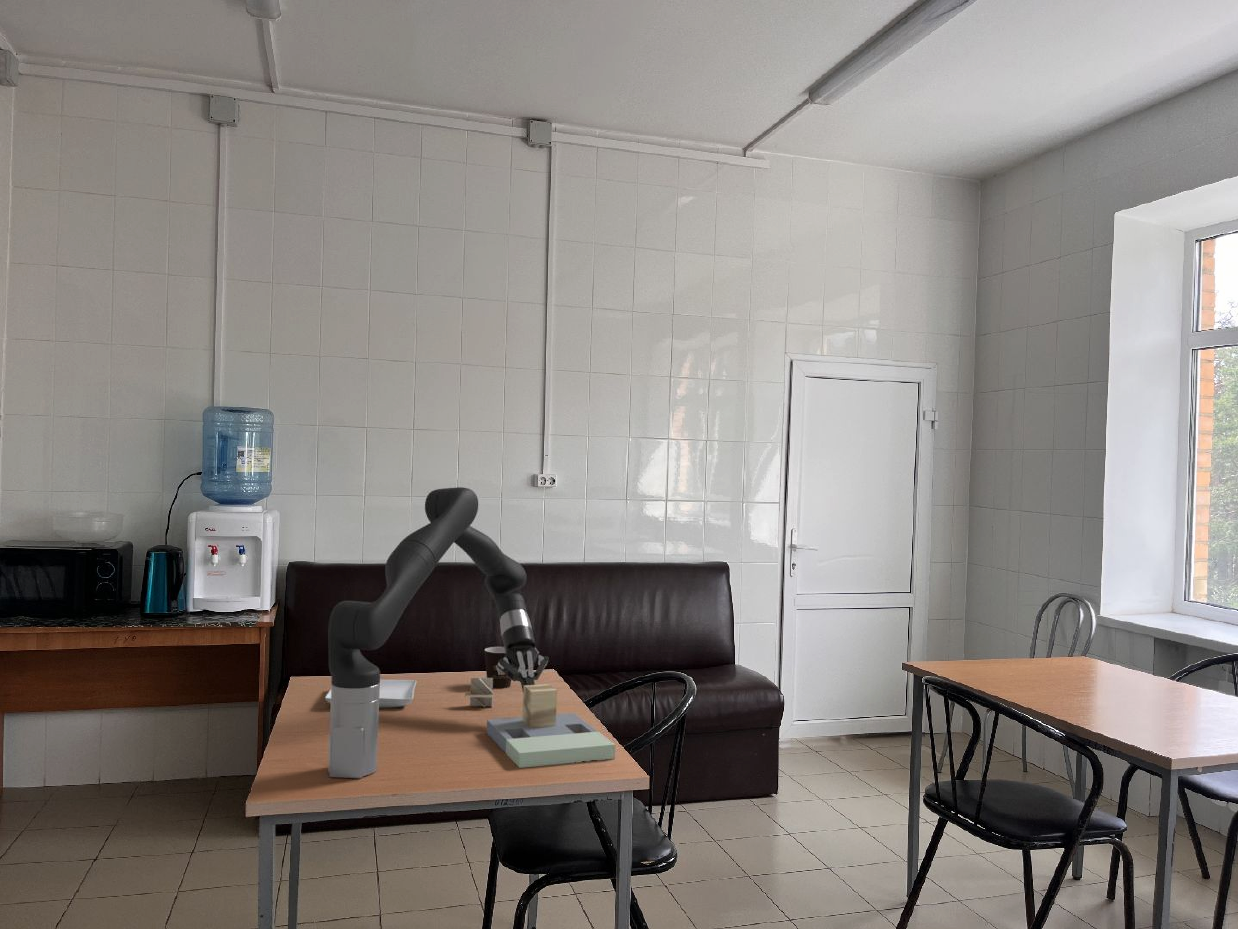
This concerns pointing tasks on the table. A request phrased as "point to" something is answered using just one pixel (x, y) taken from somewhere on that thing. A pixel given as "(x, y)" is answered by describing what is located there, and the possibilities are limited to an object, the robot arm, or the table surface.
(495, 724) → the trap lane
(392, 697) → the salad plate
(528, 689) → the birch block
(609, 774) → the table surface
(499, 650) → the coffee mug
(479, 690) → the architectural model
